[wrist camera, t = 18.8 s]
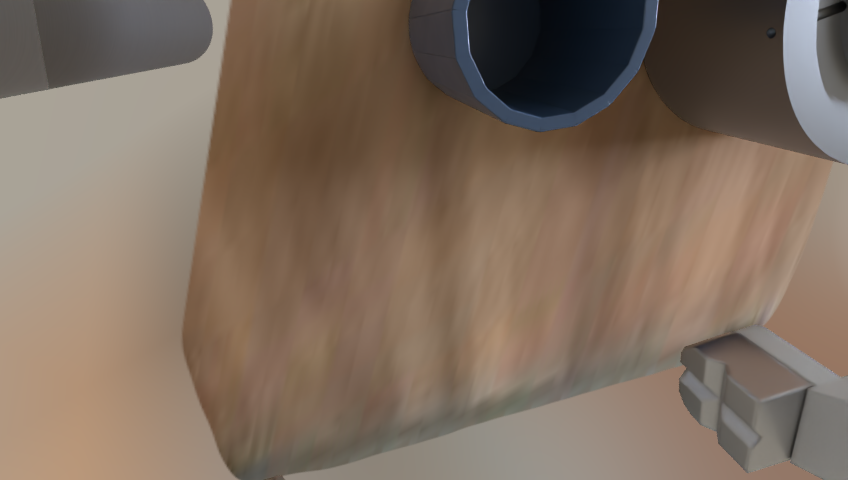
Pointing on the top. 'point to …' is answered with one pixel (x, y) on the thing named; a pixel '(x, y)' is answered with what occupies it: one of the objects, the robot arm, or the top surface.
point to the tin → (532, 54)
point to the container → (757, 70)
